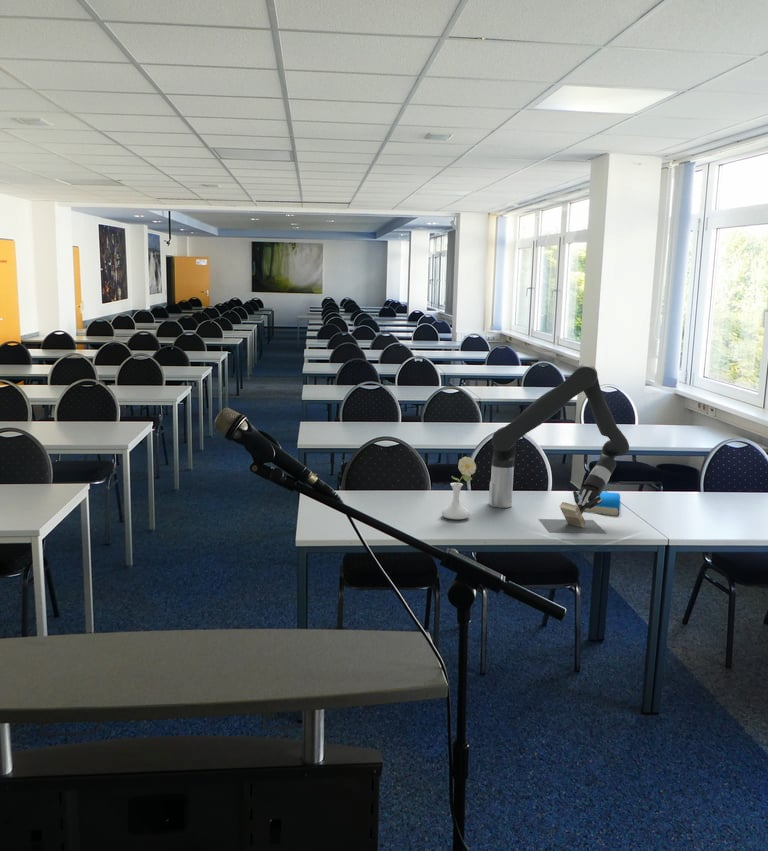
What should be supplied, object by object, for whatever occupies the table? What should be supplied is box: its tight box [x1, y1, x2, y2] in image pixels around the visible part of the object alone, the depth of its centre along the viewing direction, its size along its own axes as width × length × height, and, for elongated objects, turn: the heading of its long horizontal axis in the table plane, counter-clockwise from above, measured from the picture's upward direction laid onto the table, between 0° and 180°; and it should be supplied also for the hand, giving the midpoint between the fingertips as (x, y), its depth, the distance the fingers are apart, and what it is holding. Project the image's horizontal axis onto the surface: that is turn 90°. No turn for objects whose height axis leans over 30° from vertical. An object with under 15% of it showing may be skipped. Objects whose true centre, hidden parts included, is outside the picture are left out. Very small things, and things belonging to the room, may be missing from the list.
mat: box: [538, 518, 608, 535], centre depth 304 cm, size 22×18×1 cm
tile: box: [559, 501, 586, 528], centre depth 302 cm, size 2×7×10 cm
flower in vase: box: [440, 456, 477, 520], centre depth 311 cm, size 13×11×25 cm
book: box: [579, 491, 621, 516], centre depth 337 cm, size 17×4×25 cm
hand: (577, 514), depth 304 cm, fingers closed
